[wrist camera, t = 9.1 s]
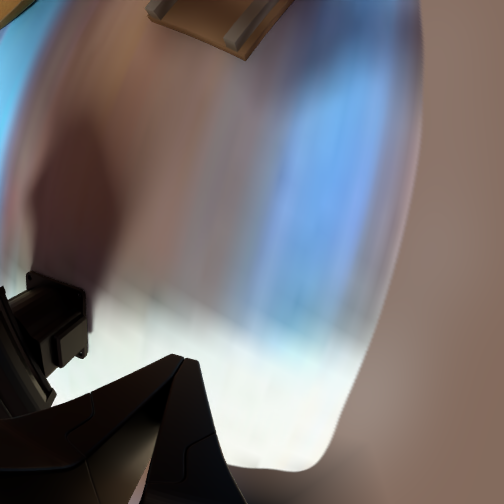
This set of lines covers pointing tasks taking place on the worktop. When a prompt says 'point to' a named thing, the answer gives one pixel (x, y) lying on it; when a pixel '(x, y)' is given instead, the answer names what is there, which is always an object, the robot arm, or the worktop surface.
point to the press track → (220, 21)
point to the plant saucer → (12, 10)
